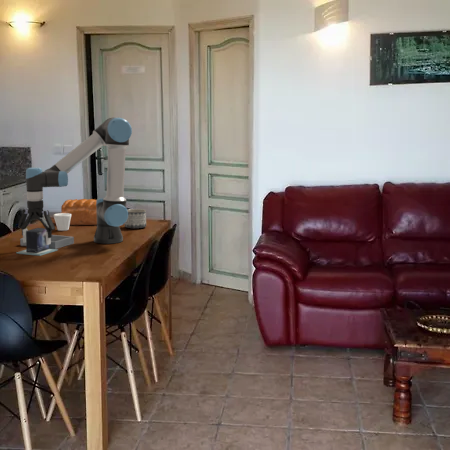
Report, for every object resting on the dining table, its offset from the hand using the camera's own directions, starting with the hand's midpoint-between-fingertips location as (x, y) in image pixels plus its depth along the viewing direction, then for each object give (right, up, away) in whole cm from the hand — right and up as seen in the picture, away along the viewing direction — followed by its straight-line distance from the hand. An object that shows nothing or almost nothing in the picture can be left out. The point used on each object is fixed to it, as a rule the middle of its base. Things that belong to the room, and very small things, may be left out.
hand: (37, 243), depth 320 cm
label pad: (0, -4, +1) cm, 4 cm away
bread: (+4, +9, +83) cm, 84 cm away
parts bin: (0, -1, +19) cm, 19 cm away
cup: (-2, +6, +60) cm, 61 cm away
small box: (0, -4, +1) cm, 4 cm away
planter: (+39, +7, +69) cm, 80 cm away
